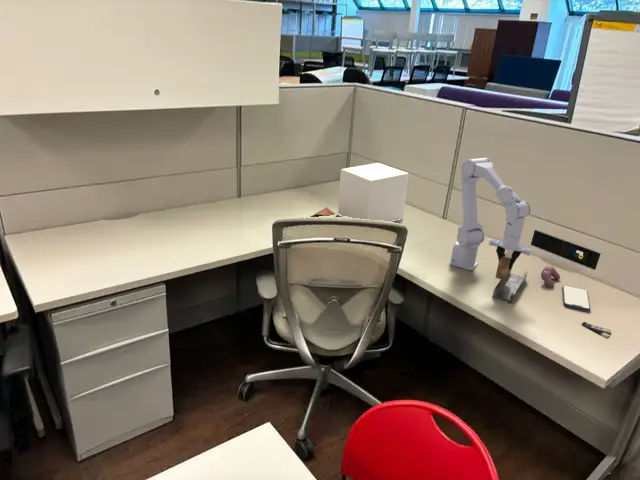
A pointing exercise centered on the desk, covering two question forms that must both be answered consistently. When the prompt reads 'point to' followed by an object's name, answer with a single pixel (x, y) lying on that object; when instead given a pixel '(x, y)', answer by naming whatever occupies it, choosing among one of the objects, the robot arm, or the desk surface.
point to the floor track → (509, 287)
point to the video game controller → (549, 275)
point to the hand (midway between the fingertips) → (505, 267)
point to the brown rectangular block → (504, 265)
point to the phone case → (575, 298)
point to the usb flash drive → (597, 329)
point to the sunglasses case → (324, 213)
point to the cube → (373, 192)
